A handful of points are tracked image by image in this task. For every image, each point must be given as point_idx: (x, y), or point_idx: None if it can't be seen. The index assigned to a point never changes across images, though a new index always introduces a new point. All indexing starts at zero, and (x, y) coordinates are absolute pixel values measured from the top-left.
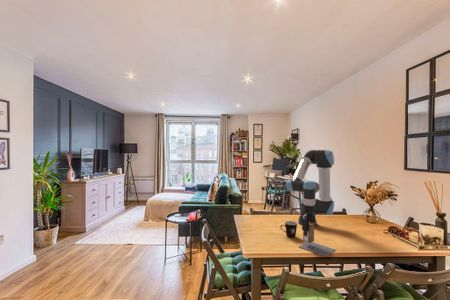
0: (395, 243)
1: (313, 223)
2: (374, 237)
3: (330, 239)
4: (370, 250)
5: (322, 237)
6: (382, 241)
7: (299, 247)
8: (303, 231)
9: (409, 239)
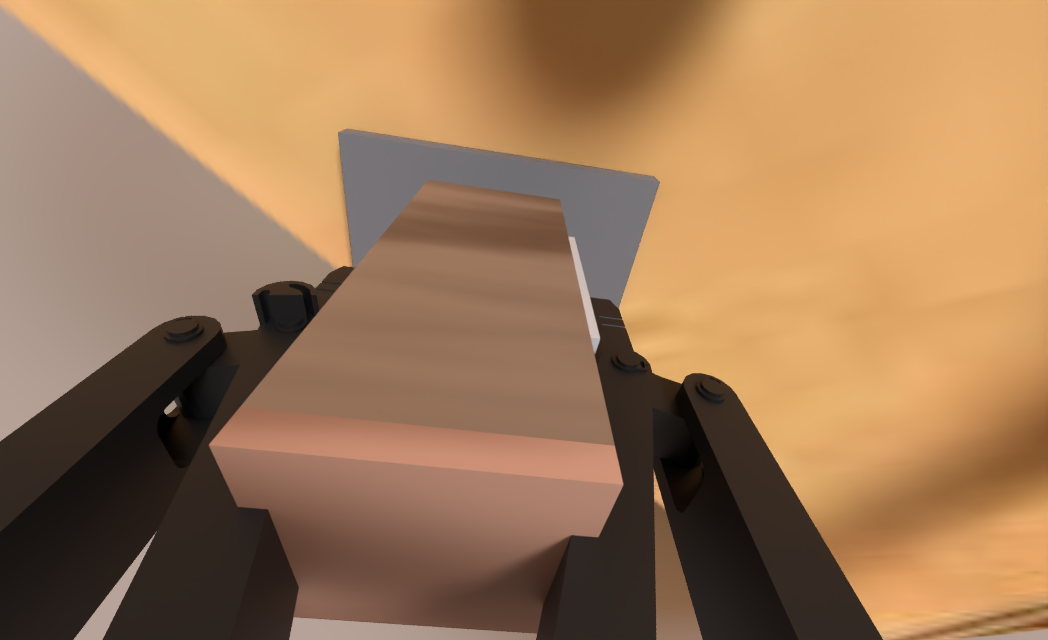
0: (932, 602)
1: (496, 621)
2: (1044, 543)
3: (889, 336)
4: None
5: (944, 249)
6: (954, 570)
7: (342, 147)
8: (373, 252)
9: (1031, 629)
